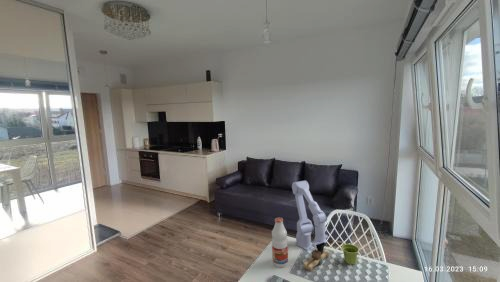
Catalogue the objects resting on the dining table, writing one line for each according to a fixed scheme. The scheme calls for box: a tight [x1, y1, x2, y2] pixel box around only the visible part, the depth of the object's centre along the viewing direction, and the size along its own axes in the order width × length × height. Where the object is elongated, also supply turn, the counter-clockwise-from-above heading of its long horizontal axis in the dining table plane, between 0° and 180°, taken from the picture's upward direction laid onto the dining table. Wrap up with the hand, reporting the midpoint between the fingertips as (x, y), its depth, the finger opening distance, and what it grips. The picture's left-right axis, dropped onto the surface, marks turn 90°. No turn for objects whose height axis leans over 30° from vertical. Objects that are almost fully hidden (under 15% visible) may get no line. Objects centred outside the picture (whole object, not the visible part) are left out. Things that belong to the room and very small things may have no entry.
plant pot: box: [341, 243, 360, 266], centre depth 138 cm, size 9×9×9 cm
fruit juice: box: [271, 217, 289, 269], centre depth 138 cm, size 9×9×28 cm
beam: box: [302, 249, 330, 273], centre depth 139 cm, size 20×6×3 cm, turn 132°
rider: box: [311, 248, 321, 260], centre depth 139 cm, size 4×4×5 cm
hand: (320, 253), depth 142 cm, fingers closed
